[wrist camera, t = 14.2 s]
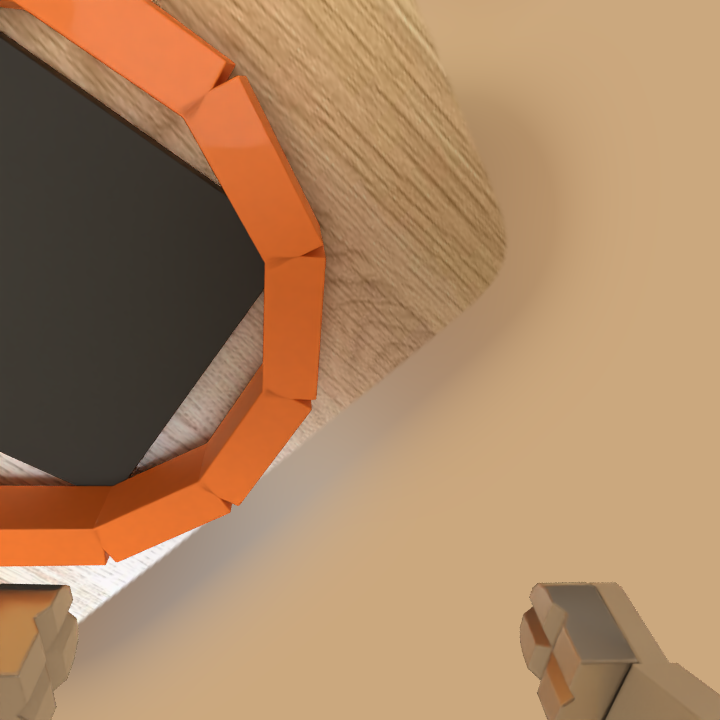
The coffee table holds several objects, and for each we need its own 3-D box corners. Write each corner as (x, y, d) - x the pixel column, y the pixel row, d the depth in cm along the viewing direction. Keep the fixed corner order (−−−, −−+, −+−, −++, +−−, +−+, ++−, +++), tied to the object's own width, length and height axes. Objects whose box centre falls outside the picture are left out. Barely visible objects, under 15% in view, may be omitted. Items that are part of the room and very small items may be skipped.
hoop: (-214, 520, 26) (-271, 570, 23) (-522, -145, 16) (-690, -191, 13) (303, 519, 29) (304, 563, 27) (339, -29, 19) (347, -46, 16)
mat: (-113, -50, 18) (-130, -55, 17) (295, 239, 24) (295, 244, 23) (-253, 324, 23) (-271, 332, 22) (115, 491, 28) (110, 501, 28)
